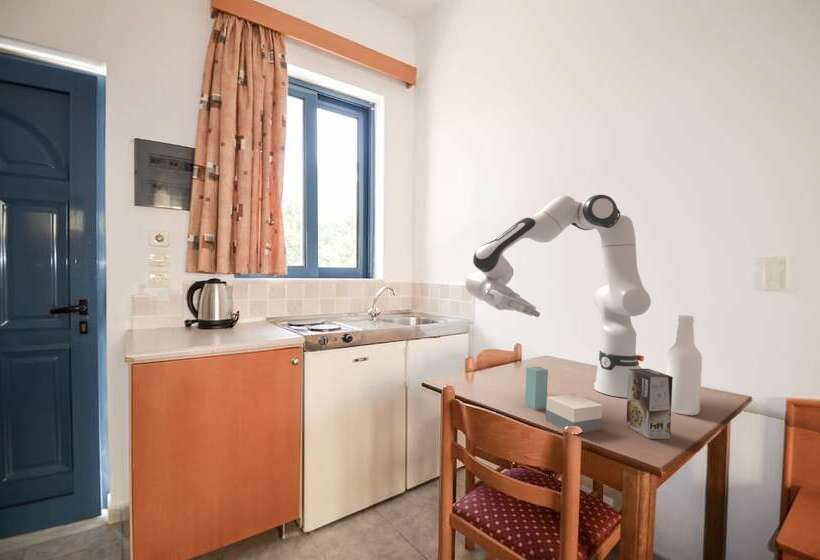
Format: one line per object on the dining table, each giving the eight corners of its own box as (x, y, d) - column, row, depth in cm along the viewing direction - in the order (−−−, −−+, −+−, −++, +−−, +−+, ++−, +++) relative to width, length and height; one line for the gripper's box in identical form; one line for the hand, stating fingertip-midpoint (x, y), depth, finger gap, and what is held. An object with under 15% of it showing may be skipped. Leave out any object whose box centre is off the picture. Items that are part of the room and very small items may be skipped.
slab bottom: (572, 417, 112) (572, 405, 112) (601, 431, 103) (601, 418, 103) (545, 421, 108) (545, 409, 108) (572, 435, 99) (573, 422, 99)
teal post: (536, 403, 122) (537, 366, 122) (546, 408, 118) (547, 369, 118) (525, 405, 120) (526, 367, 120) (534, 410, 116) (536, 370, 116)
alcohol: (694, 418, 114) (699, 318, 113) (660, 409, 120) (665, 315, 120) (702, 412, 119) (707, 316, 119) (670, 404, 126) (674, 313, 126)
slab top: (573, 406, 112) (573, 394, 112) (602, 418, 102) (602, 405, 102) (546, 409, 108) (546, 397, 108) (573, 422, 99) (574, 408, 99)
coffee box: (671, 439, 98) (674, 376, 98) (647, 439, 97) (650, 376, 97) (646, 425, 107) (649, 368, 107) (624, 425, 106) (627, 367, 106)
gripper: (486, 282, 130) (517, 297, 119) (519, 294, 143) (550, 309, 132) (478, 299, 130) (509, 315, 120) (512, 310, 143) (542, 325, 133)
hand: (531, 312), depth 126 cm, fingers open, 8 cm apart
